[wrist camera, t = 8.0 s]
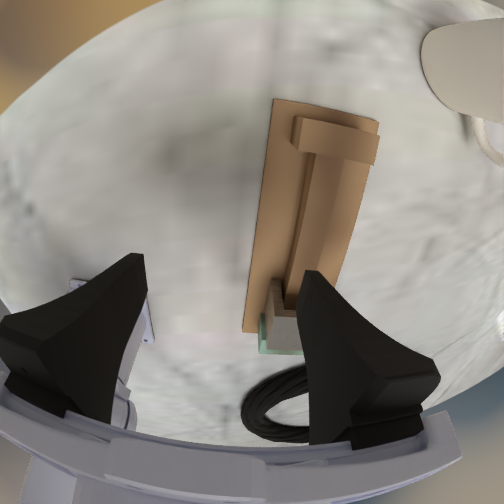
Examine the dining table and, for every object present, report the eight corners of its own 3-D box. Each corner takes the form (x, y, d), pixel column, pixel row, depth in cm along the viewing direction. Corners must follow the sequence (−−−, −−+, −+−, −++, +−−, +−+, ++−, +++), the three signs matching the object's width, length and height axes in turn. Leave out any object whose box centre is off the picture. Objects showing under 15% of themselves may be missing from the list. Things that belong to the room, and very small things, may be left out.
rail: (242, 328, 28) (241, 358, 24) (273, 99, 17) (279, 97, 13) (314, 331, 28) (321, 360, 25) (375, 121, 17) (402, 127, 14)
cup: (468, 32, 11) (545, 31, 2) (489, 146, 17) (562, 182, 8) (405, 25, 13) (489, 4, 4) (435, 156, 18) (518, 200, 10)
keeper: (264, 312, 26) (266, 349, 22) (270, 279, 24) (274, 316, 20) (308, 314, 26) (316, 350, 22) (318, 283, 24) (330, 318, 20)
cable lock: (202, 420, 34) (396, 332, 24) (205, 400, 38) (384, 308, 28) (302, 452, 45) (434, 395, 35) (300, 438, 48) (428, 379, 38)
